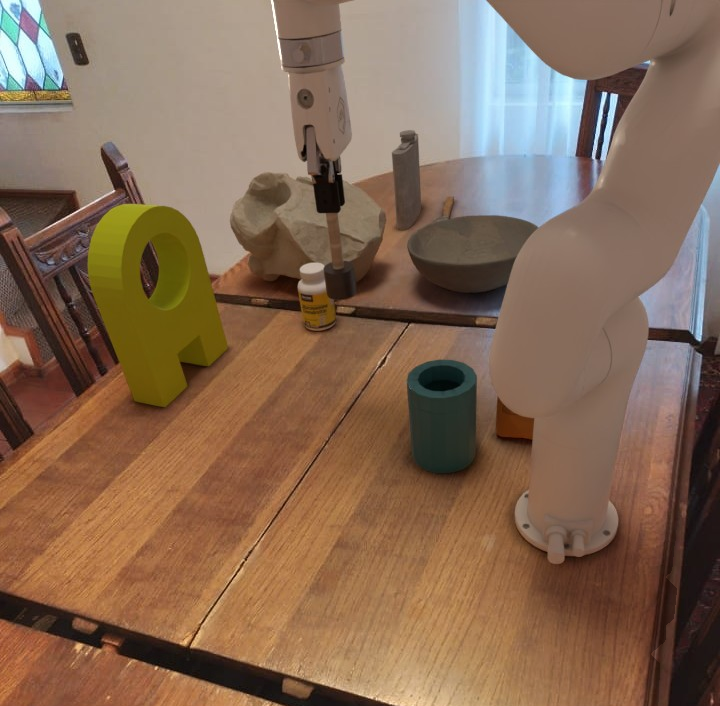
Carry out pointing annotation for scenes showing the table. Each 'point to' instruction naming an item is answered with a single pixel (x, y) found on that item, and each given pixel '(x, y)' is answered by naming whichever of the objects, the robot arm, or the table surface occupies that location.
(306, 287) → the pill bottle
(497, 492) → the table surface
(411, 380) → the jar
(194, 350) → the decorative object
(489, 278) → the bowl
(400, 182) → the hip flask
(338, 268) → the scrub brush
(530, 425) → the coffee package
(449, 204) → the knife
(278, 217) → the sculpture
